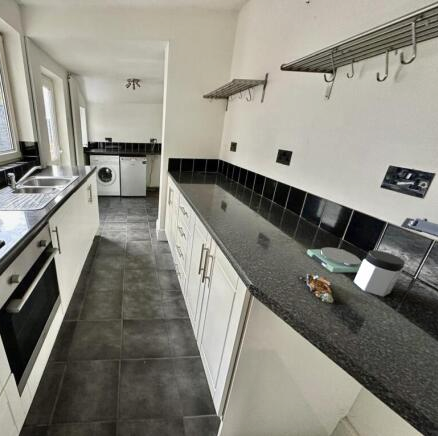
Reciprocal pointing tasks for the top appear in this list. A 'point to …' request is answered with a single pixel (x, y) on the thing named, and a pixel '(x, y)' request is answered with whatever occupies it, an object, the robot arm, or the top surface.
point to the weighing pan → (340, 256)
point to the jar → (379, 272)
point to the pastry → (319, 287)
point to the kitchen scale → (332, 263)
